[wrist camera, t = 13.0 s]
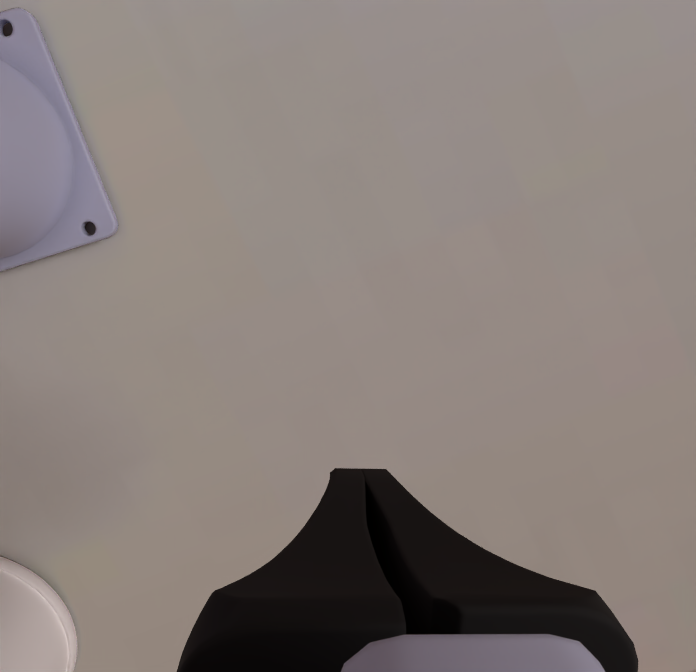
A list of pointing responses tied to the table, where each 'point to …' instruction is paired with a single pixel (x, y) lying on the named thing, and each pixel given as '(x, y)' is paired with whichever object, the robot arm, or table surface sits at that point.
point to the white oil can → (33, 624)
